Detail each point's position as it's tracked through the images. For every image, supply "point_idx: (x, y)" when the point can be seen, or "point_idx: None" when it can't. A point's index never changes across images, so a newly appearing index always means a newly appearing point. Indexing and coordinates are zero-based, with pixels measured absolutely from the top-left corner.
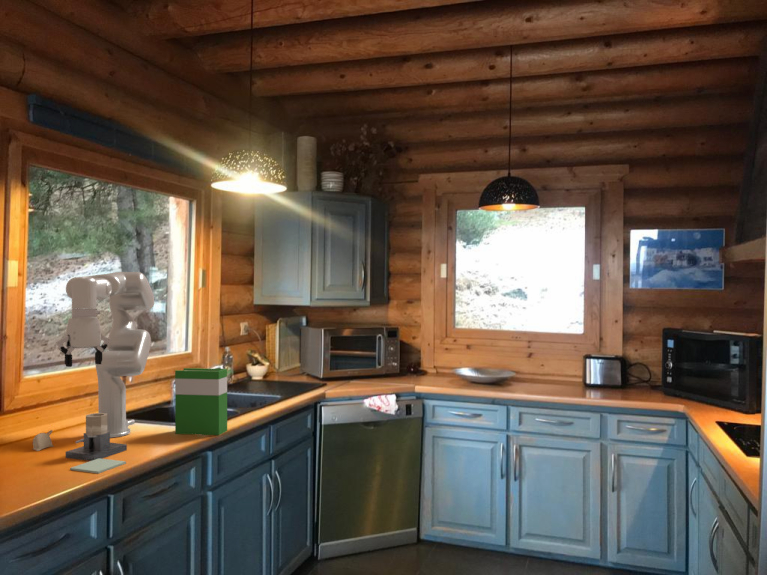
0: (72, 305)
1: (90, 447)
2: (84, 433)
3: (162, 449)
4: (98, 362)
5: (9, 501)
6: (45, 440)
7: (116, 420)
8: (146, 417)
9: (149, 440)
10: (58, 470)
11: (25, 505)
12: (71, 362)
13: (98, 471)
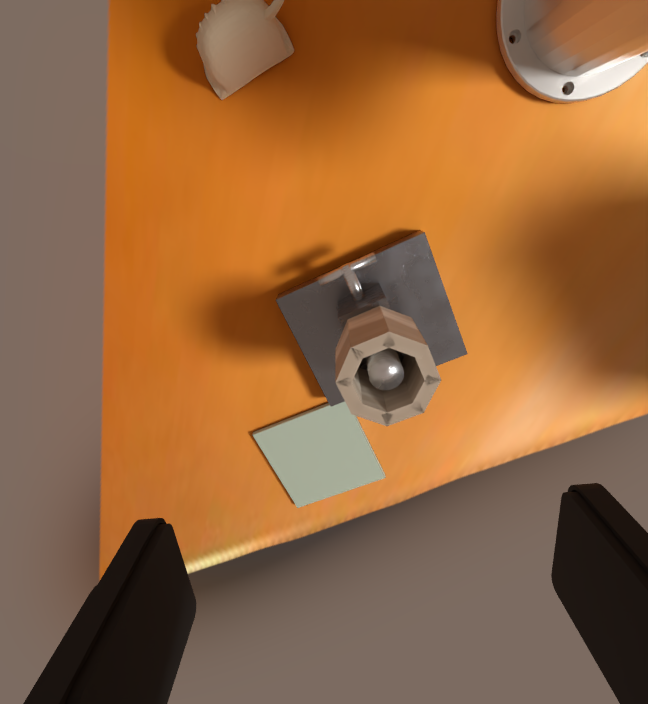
0: None
1: None
2: (340, 320)
3: (537, 416)
4: (564, 587)
5: (105, 547)
6: (249, 58)
7: (615, 56)
8: None
9: (597, 270)
10: (227, 414)
11: None
12: (170, 663)
13: (298, 507)
